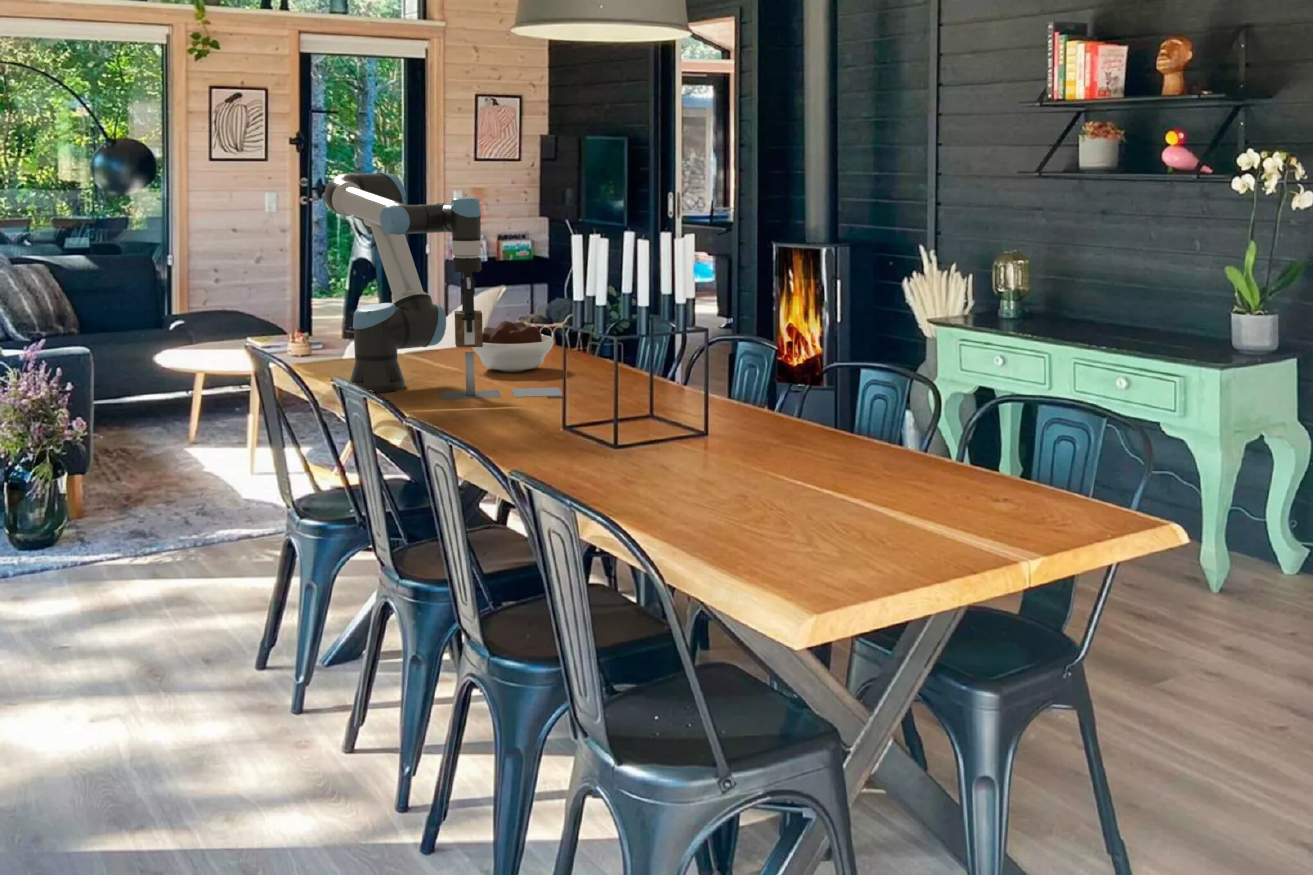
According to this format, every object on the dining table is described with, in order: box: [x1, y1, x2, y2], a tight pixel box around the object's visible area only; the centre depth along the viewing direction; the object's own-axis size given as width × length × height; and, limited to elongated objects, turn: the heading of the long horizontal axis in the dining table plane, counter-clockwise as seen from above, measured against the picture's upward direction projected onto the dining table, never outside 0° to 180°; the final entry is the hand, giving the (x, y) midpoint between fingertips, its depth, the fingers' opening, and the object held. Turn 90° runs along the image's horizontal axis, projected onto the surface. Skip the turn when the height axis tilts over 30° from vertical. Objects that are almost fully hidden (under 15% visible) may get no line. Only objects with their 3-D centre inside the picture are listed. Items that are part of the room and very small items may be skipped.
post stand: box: [440, 351, 503, 400], centre depth 381 cm, size 16×12×12 cm
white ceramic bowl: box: [471, 320, 554, 373], centre depth 427 cm, size 25×25×15 cm
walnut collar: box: [454, 309, 484, 349], centre depth 379 cm, size 7×7×9 cm
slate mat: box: [511, 387, 563, 399], centre depth 386 cm, size 13×13×1 cm
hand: (468, 342), depth 380 cm, fingers closed on walnut collar, 7 cm apart
